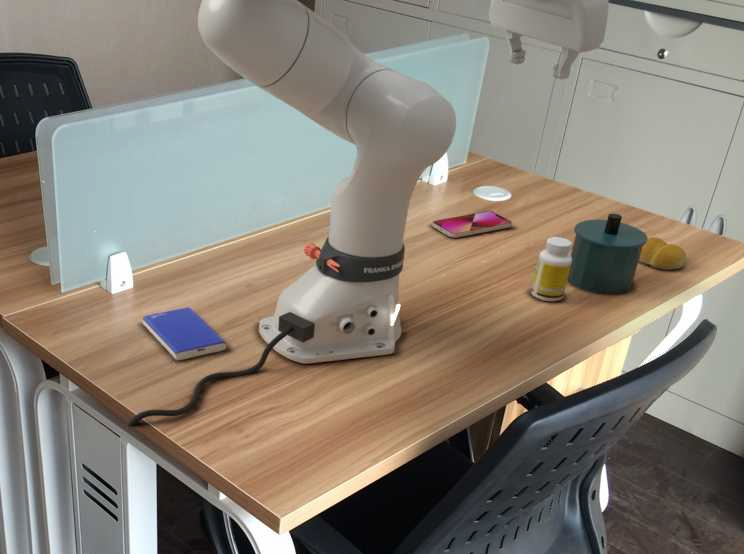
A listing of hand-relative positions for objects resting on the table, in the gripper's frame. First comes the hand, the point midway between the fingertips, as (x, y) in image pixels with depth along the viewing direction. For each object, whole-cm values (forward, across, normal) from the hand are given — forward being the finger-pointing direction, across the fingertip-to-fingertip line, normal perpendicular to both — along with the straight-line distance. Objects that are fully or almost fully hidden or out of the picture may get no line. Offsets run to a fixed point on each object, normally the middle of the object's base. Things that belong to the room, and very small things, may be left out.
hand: (538, 70), depth 139 cm
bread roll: (+42, 0, +35) cm, 55 cm away
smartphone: (+39, -27, +14) cm, 49 cm away
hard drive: (+31, -8, -57) cm, 66 cm away
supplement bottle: (+38, +3, +5) cm, 39 cm away
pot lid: (+31, +2, +19) cm, 37 cm away
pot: (+39, +2, +18) cm, 44 cm away
